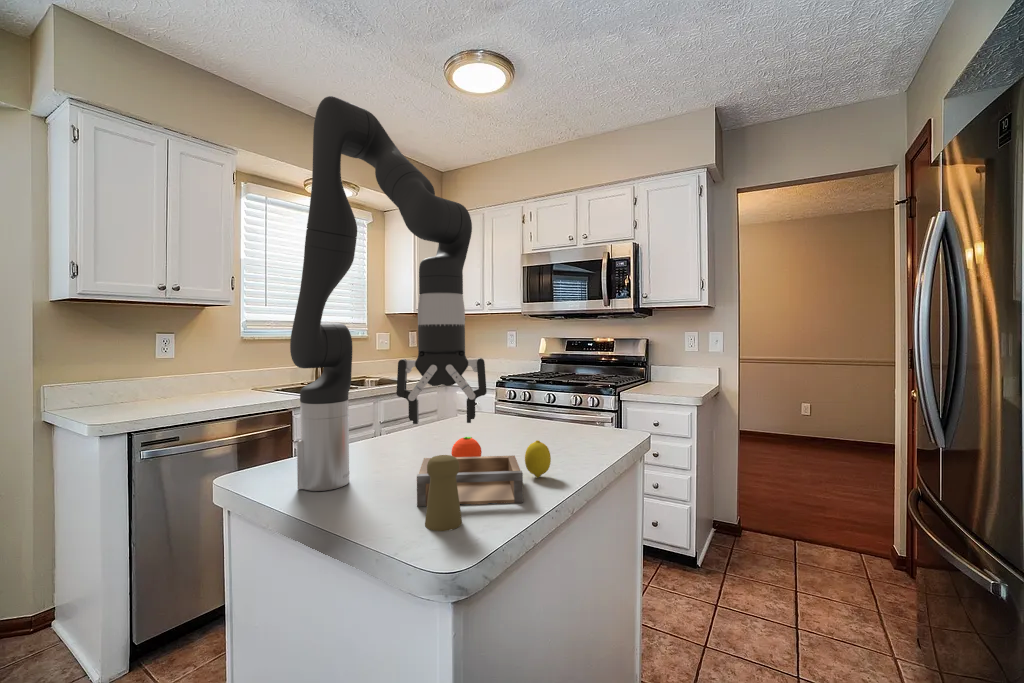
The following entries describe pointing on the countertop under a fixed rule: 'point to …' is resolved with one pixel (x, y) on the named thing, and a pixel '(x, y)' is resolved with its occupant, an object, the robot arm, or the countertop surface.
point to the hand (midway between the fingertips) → (442, 422)
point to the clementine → (466, 448)
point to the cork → (443, 494)
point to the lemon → (537, 458)
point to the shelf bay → (480, 480)
